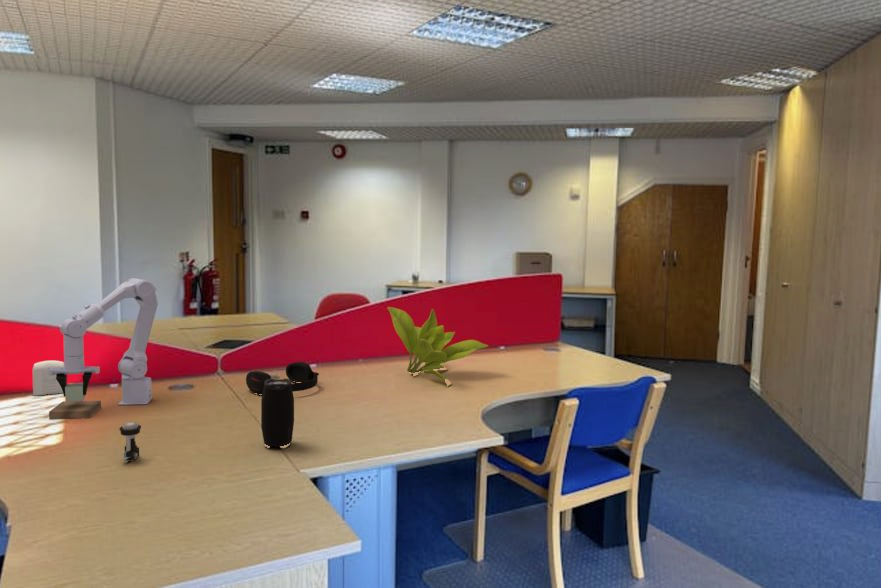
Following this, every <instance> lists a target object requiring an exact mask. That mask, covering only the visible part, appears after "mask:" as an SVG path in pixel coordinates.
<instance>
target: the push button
mask: <svg viewBox="0 0 881 588" xmlns="http://www.w3.org/2000/svg"><path fill="white" fill-rule="evenodd" d="M141 429H142V425H140V424H138V422H137V421H128V422H124V423H123V425H121V426H120V427H119V431H120V435H121V436H123V437H125V446H124V452H123V463H124V464H126V463H129V462H128V461H131V460H133V459H134V458H135V459H134V460H137V459H138V458H139V457H140V447H138V445H137V444H136V436H137V435H138V434H140V433H141ZM138 456H139V457H138ZM136 458H137V459H136ZM134 460H133V461H134ZM124 461H125V462H124Z"/></svg>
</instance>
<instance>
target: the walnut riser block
mask: <svg viewBox="0 0 881 588" xmlns="http://www.w3.org/2000/svg"><path fill="white" fill-rule="evenodd" d="M101 409H102V401H101V400H83V401H74V402H66V400H65V401H64V400H63V401H61V402H60V403H59V404H58V405H56V406H54V408H52V409H51V410H49V411H48V418H49V419H48V420H75V419H78V420H79V419H82V418H84V419H91V418H92V417H93V416H94V415H95V414H96V413H97V412H98V411H99V410H101ZM92 415H93V416H92Z"/></svg>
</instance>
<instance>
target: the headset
mask: <svg viewBox="0 0 881 588" xmlns="http://www.w3.org/2000/svg"><path fill="white" fill-rule="evenodd" d="M281 370H283V371H284V369H283V368H282V369H278V371H281ZM266 371H269V372H271V370H266ZM285 375H286V377H287V379H290V380H291V382H292V381H295V382H301V383H291V385H292V391H293V393H294V392H302V391H306V390H310V389H313V388H315V387H316V386H317V384H318V379H319V378H318V376H319V375H320V373H319V372H317V371H313V370H312V368H311V366H310V364H308V363H307V362H305V361H304V362H303V361H294V362H291V363H288V365H287V366H286V367H285ZM267 379H272V376H271V375H270V374H269V373H267V372H265V371H264V370H261V371H260V370H255V371H249V372H247V375H246V377H245V381H246V382H245V383H246V386H247V388H248V390H249V392H250V393H252V392H253V393H257V394H263V389H264V381H265V380H267ZM253 393H252V394H253Z"/></svg>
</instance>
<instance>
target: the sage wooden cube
mask: <svg viewBox="0 0 881 588" xmlns="http://www.w3.org/2000/svg"><path fill="white" fill-rule="evenodd" d="M85 398H86V395H84V396H83V382H70V383H67V385H66V387H65V397H64V399H65V401H66V402H74V401H85V400H84V399H85Z"/></svg>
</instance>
